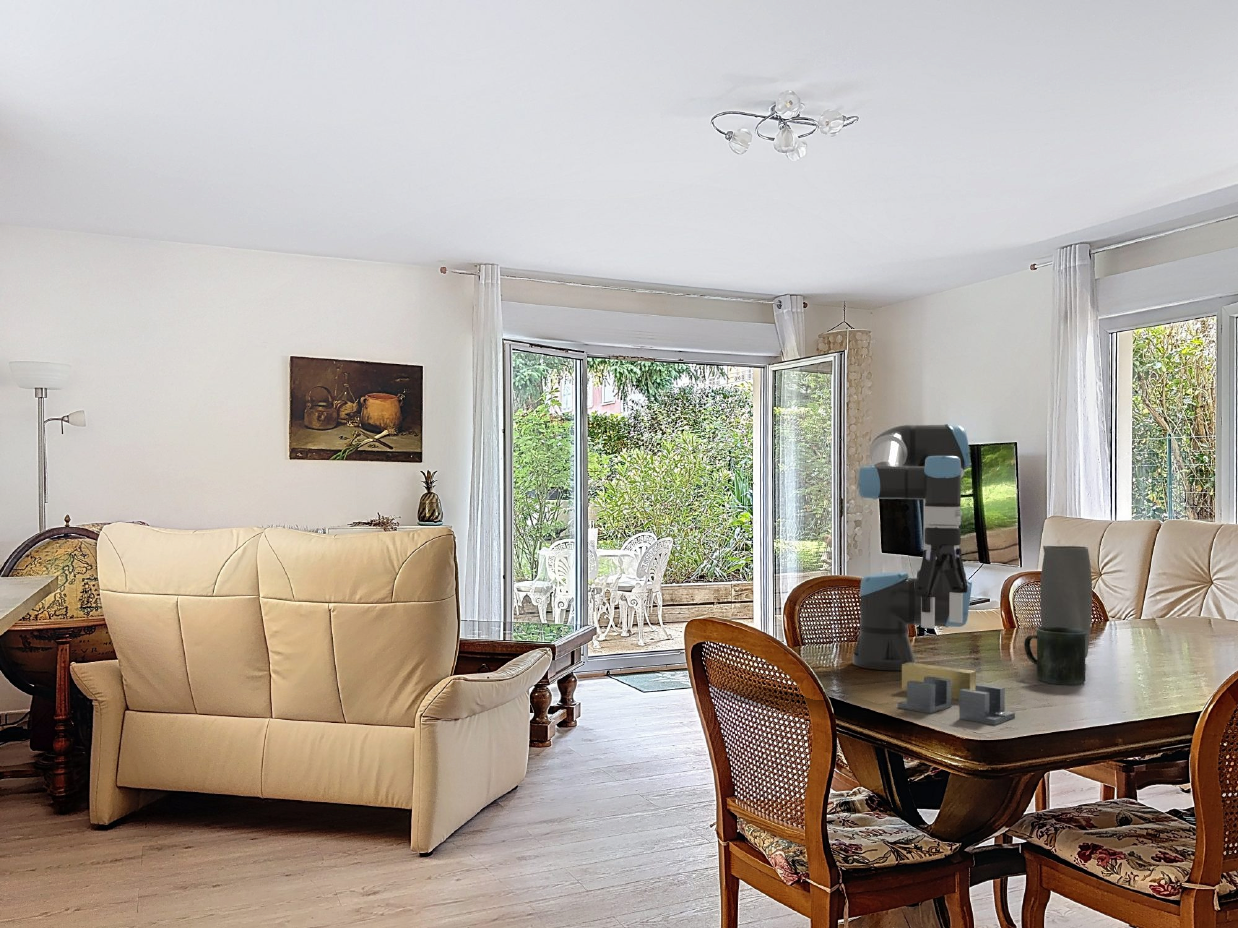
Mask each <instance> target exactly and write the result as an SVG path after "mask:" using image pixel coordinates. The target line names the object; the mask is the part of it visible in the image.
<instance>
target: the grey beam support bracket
mask: <svg viewBox="0 0 1238 928" xmlns="http://www.w3.org/2000/svg"><path fill="white" fill-rule="evenodd" d="M1005 690H1006V688H1005V687H1002V686H996V685H989V684H984V683H983V684H981V683H979V684H976V685H975V690H969V689H962V690H960V700H959V707H958V708H959V716H958V717H959V720H962V721H963V720H964V721H970V722H975V723H981V724H986V725H993V726H997V725H999V724H1001V723H1004V722H1007V721H1010V720H1012V719H1015V718H1016V716H1015V714H1016V712H1013V711H1008V710H1005V709H1006V707H1005V706H1006V705H1005V704H1006V701H1005V700H1006V699H1005V693H1006V691H1005Z"/></svg>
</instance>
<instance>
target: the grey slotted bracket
mask: <svg viewBox="0 0 1238 928" xmlns="http://www.w3.org/2000/svg"><path fill="white" fill-rule="evenodd" d="M951 707H952V698H951V680H950V679H944V678H937V677H931V676H927V677H924V682H918V681H908V682H907V692H906V700H902V701H899V702H897V708H898V709H903V710H909V711H914V712H919V713H924V714H925V713H926V714H931V715H932V714H933V713H936V712H939V711H943V710H945V709H949V708H951Z"/></svg>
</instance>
